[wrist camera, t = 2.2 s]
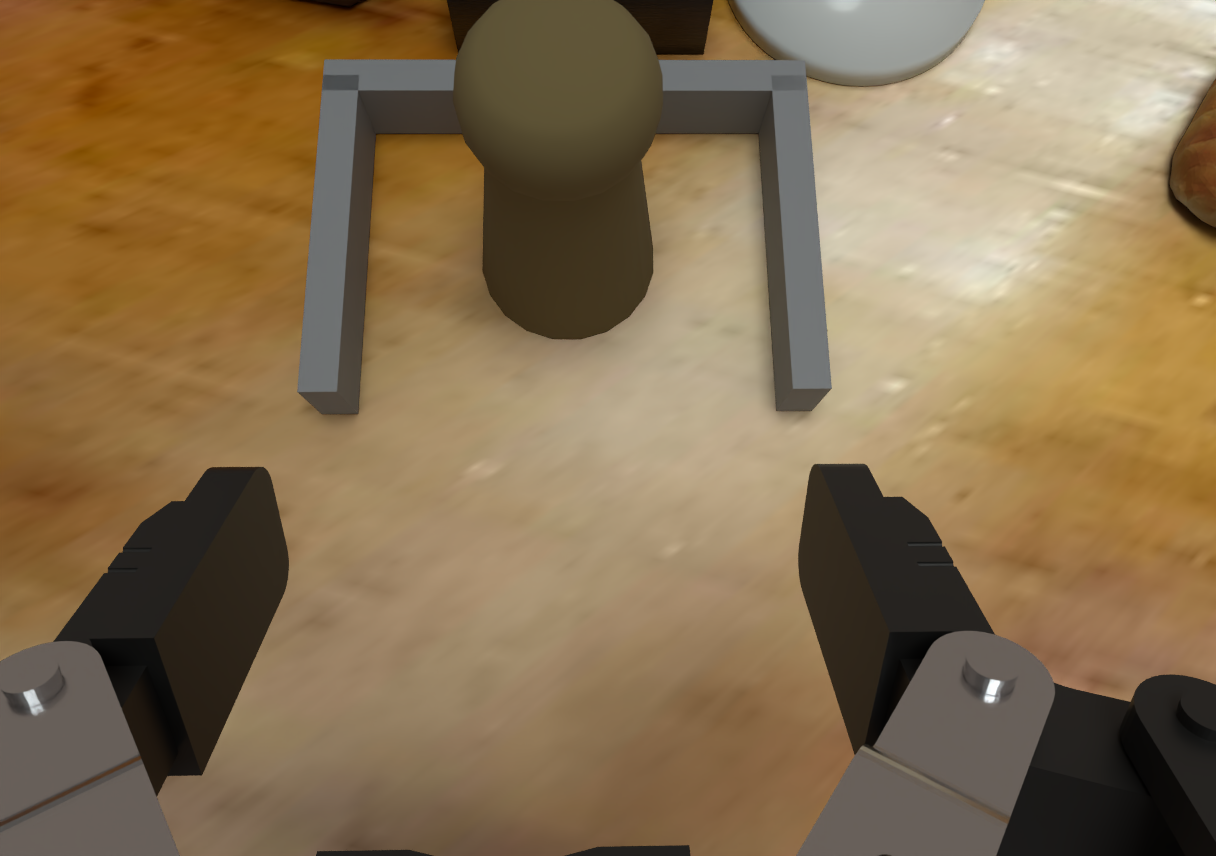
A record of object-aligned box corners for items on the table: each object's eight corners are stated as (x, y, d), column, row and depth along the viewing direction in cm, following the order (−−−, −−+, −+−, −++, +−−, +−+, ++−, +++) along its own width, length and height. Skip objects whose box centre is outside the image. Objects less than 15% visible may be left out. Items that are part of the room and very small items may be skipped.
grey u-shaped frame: (321, 413, 29) (297, 391, 27) (344, 104, 32) (324, 59, 30) (811, 410, 29) (831, 388, 27) (788, 104, 32) (805, 60, 30)
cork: (533, 155, 32) (504, -99, 21) (682, 226, 31) (731, 1, 20) (450, 292, 30) (374, 94, 20) (605, 369, 30) (613, 207, 19)
